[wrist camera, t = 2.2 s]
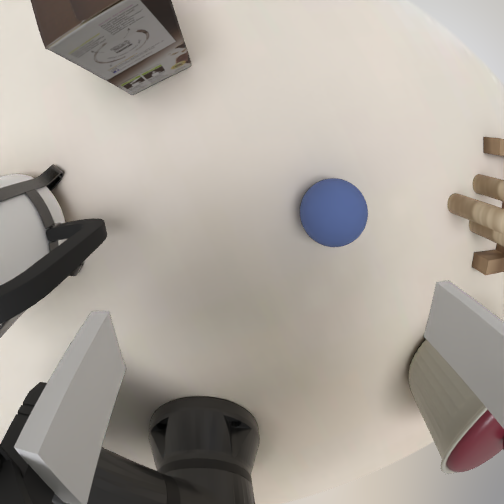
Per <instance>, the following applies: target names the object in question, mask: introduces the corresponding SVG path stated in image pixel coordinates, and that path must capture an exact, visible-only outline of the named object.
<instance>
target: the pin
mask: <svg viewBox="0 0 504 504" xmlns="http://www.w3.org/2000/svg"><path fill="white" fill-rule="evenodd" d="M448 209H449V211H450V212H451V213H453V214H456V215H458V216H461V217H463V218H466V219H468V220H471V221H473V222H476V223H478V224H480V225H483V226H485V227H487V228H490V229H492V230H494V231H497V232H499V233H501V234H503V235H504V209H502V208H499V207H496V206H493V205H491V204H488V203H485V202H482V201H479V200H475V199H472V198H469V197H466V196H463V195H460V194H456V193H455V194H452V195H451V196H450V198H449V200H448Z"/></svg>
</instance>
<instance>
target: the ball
mask: <svg viewBox="0 0 504 504" xmlns="http://www.w3.org/2000/svg"><path fill="white" fill-rule="evenodd" d="M367 217H368V209H367V204H366V201H365V199H364V197H363V195H362V193H361V192H360V191H359V190H358V189H357V188H356V187H355V186H354V185H353V184H351V183H349V182H347V181H345V180H342V179H335V178H331V179H325V180H322V181H319V182H317V183H316V184H314V185H313V186H312V187H311V188H310V189H309V190H308V191H307V192H306V194H305V195H304V197H303V199H302V202H301V207H300V218H301V222H302V225H303V227H304V229H305V231H306V232H307V234H308V235H309V236H310V237H311V238H312V239H313V240H315V241H316V242H318V243H319V244H322V245H325V246H328V247H340V246H344V245H347V244H349V243H351V242H353V241H354V240H355V239H357V238H358V237H359V236H360V234H361V233H362V231H363V230H364V228H365V225H366V222H367Z"/></svg>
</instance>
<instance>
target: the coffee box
mask: <svg viewBox="0 0 504 504" xmlns="http://www.w3.org/2000/svg"><path fill="white" fill-rule="evenodd" d="M31 3H32V7H33V10H34V14H35V18H36V21H37V25H38V28H39V31H40V35H41V38H42V40H43V43H44V46H45V49H48V50H50V51H52V52H54V53H56V54H58V55H60V56H62V57H64V58H66V59H67V60H69V61H71V62H73V63H75V64H77V65H79V66H81V67H82V68H84V69H86V70H88V71H90V72H92V73H93V74H95V75H97V76H99V77H101V78H103V79H104V80H107V81H108V82H110V83H112V84H114V85H115V86H117V87H119V88H121V89H122V90H124V91H126V92H128V93H129V94H131V95H134V94H136V93H138V92H140V91H142V90H144V89H145V88H147V87H149V86H151V85H153V84H155V83H157V82H159V81H161V80H163V79H165V78H167V77H170V76H172V75H174V74H176V73H178V72H180V71H182V70H184V69H186V68H188V67H190V66H191V61H190V58H189V55H188V51H187V48H186V45H185V42H184V40H183V36H182V33H181V30H180V27H179V24H178V21H177V17H176V14H175V11H174V8H173V5H172V2H171V0H31Z"/></svg>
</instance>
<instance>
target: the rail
mask: <svg viewBox="0 0 504 504" xmlns="http://www.w3.org/2000/svg"><path fill="white" fill-rule="evenodd" d="M484 153H488V154H494V155H499V156H504V139H500V138H489V137H484ZM502 209H504V201H503V203H502ZM472 267H473V268H475V269H476V270H478V271H480V272H481V273H483V274H484V275H489V274H494V273H499V272H504V247H503V246H501V245H499V244H497V247H496V250H490V251H482V252H474V257H473V263H472Z"/></svg>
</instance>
